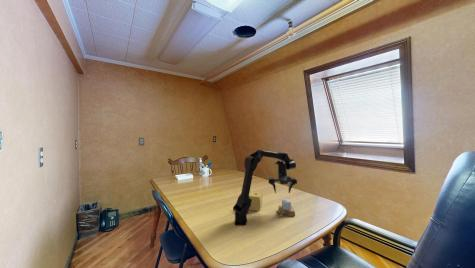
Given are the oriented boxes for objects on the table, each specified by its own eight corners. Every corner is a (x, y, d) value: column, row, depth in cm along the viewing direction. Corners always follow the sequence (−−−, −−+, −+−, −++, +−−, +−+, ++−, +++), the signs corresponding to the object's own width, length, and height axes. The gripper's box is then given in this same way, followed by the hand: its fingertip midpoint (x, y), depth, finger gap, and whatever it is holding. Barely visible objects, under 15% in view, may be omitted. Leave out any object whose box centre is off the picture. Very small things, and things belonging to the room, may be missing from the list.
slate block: (283, 209, 125) (283, 202, 125) (281, 206, 130) (281, 199, 130) (290, 209, 125) (290, 202, 125) (289, 206, 130) (289, 199, 130)
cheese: (249, 203, 144) (249, 190, 143) (263, 205, 140) (263, 192, 140) (245, 209, 134) (244, 195, 133) (260, 211, 130) (260, 197, 130)
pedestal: (280, 215, 123) (280, 211, 123) (278, 209, 132) (278, 205, 132) (294, 216, 123) (294, 211, 123) (291, 210, 132) (291, 205, 132)
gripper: (269, 173, 123) (269, 197, 124) (299, 173, 122) (299, 197, 123) (267, 169, 134) (268, 191, 135) (295, 169, 133) (295, 191, 134)
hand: (282, 193), depth 131 cm, fingers open, 9 cm apart
